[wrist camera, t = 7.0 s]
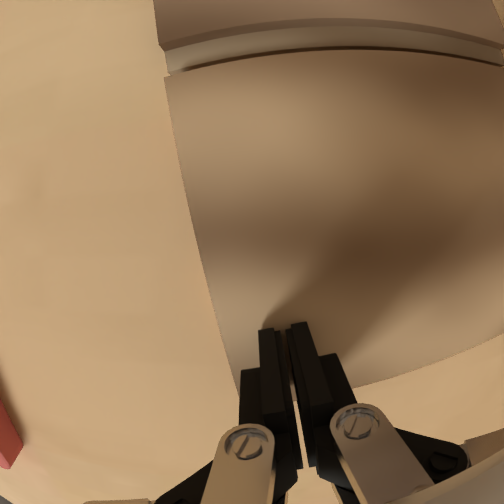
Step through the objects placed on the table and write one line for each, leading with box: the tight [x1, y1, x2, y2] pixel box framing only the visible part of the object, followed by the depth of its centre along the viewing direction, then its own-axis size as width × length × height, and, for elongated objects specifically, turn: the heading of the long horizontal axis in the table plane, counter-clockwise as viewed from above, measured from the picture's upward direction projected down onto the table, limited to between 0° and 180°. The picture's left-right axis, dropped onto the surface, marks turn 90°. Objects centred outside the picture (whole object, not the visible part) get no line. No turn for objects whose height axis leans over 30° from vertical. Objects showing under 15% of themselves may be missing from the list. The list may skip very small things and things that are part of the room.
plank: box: [164, 50, 504, 401], centre depth 10 cm, size 12×14×1 cm
